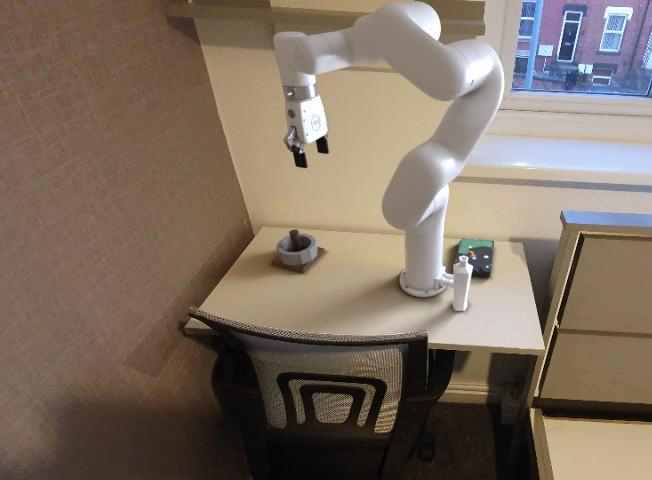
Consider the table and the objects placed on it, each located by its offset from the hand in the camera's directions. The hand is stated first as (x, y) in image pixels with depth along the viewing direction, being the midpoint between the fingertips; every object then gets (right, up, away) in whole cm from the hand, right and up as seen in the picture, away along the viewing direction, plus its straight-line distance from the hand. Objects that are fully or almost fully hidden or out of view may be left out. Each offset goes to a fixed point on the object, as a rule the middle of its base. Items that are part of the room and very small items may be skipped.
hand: (313, 159), depth 103 cm
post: (-7, -26, +9) cm, 28 cm away
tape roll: (-7, -25, +8) cm, 27 cm away
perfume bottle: (+38, -37, -4) cm, 54 cm away
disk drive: (+43, -27, +11) cm, 52 cm away
